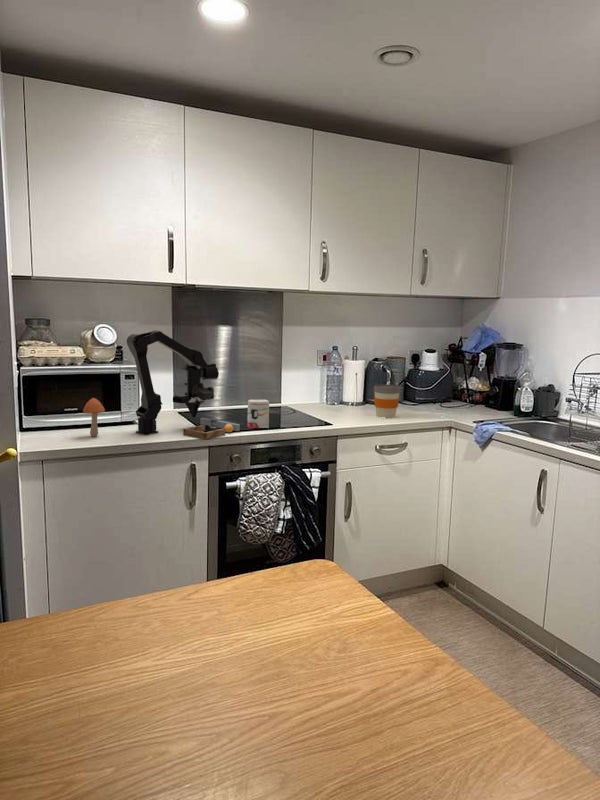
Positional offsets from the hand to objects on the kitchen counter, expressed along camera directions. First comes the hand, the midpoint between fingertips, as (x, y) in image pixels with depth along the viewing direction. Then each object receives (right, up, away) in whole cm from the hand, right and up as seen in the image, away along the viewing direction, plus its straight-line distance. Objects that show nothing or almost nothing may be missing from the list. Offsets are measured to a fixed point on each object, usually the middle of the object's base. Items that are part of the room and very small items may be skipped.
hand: (193, 417), depth 240 cm
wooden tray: (+7, -7, -13) cm, 16 cm away
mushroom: (-35, -7, -20) cm, 40 cm away
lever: (+11, -4, 0) cm, 12 cm away
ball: (+16, -4, -8) cm, 18 cm away
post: (+8, -4, +2) cm, 10 cm away
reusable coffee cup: (+86, -1, +37) cm, 94 cm away
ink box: (+27, -5, +4) cm, 27 cm away
